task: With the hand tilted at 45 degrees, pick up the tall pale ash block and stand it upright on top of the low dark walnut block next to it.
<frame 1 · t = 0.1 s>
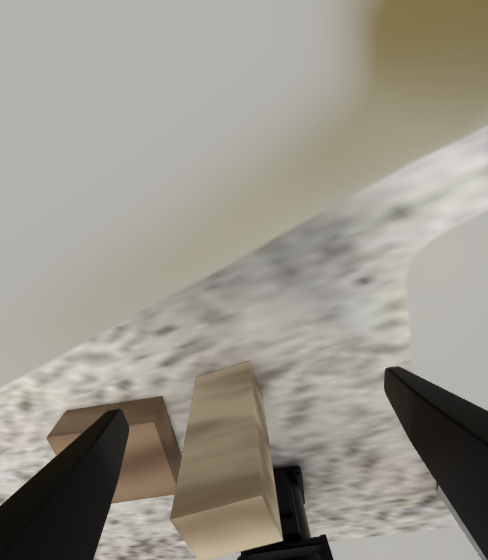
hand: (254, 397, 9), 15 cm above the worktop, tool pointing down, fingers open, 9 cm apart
walnut block: (129, 435, 29), on the worktop
skincare box: (451, 469, 33), on the worktop
ash block: (230, 386, 27), on the worktop
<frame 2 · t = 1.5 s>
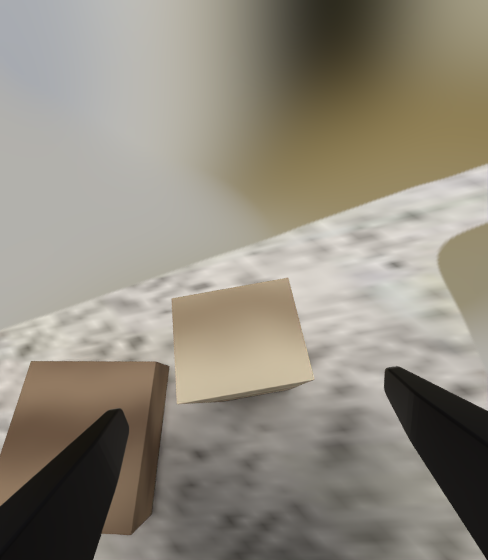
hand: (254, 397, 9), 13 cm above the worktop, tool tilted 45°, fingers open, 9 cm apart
walnut block: (102, 431, 21), on the worktop
ash block: (250, 366, 22), on the worktop
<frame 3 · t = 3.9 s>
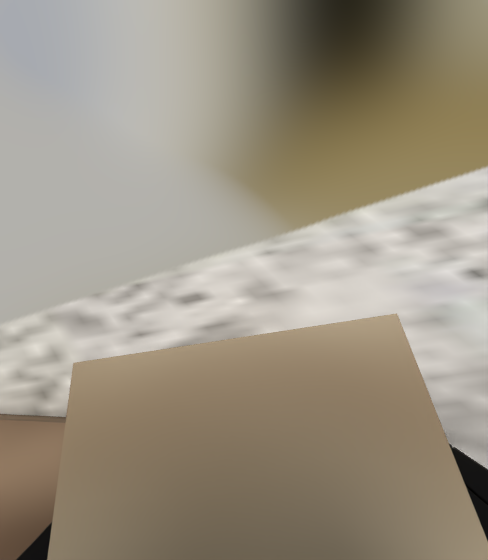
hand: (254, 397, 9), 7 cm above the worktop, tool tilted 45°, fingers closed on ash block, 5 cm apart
walnut block: (29, 525, 14), on the worktop
ash block: (262, 427, 14), on the worktop, touching gripper
when the fingers open (11 cm above the worktop, at t = 7.7 s): ash block drops 2 cm, resting on walnut block.
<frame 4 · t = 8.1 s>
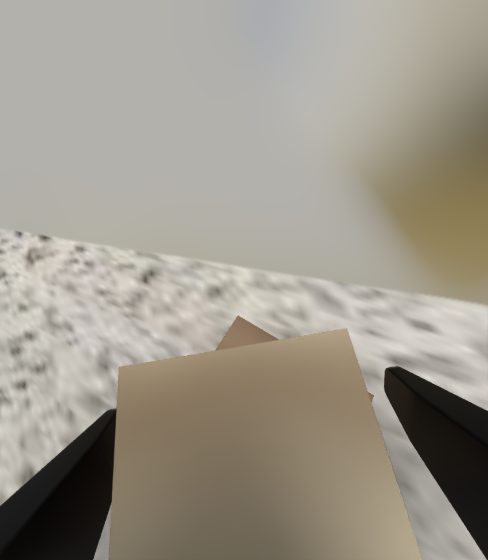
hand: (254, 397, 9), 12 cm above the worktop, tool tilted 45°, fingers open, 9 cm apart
walnut block: (263, 420, 19), on the worktop, touching ash block
ash block: (261, 422, 16), point 3 cm above the worktop, touching walnut block
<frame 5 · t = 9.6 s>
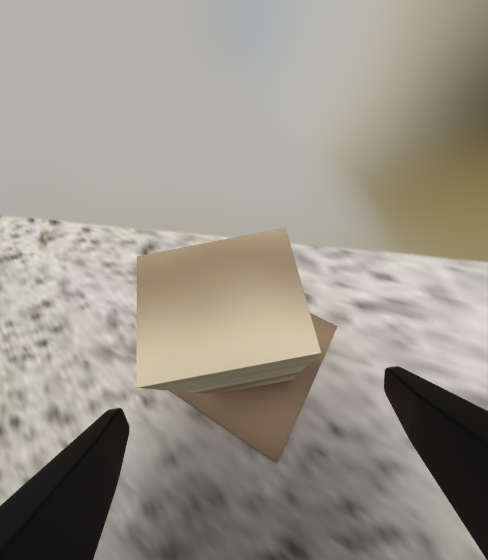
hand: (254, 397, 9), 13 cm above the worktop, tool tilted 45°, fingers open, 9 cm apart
walnut block: (250, 359, 23), on the worktop
ash block: (247, 354, 20), point 3 cm above the worktop
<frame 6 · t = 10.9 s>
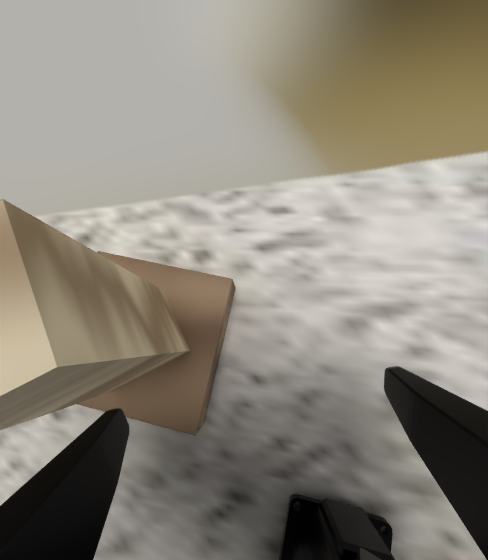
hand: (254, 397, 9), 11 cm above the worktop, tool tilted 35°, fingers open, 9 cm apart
walnut block: (160, 336, 21), on the worktop
ash block: (139, 338, 18), point 3 cm above the worktop
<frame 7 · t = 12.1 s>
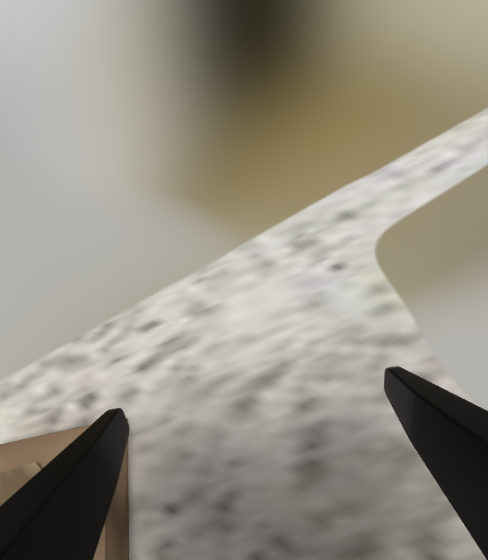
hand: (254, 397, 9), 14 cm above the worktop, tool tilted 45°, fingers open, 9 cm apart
walnut block: (65, 506, 20), on the worktop, touching ash block
ash block: (19, 530, 16), point 3 cm above the worktop, touching walnut block
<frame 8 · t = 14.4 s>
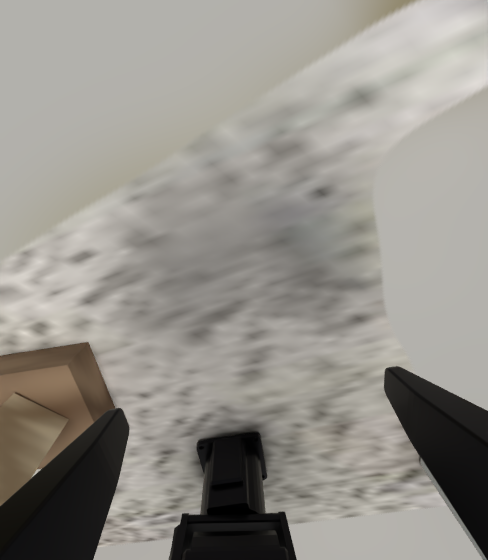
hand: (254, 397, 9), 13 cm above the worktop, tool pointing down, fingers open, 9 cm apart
walnut block: (57, 392, 25), on the worktop
skincare box: (436, 438, 29), on the worktop
ash block: (26, 427, 22), point 3 cm above the worktop
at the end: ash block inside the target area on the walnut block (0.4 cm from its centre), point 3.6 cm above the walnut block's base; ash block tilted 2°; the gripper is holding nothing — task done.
